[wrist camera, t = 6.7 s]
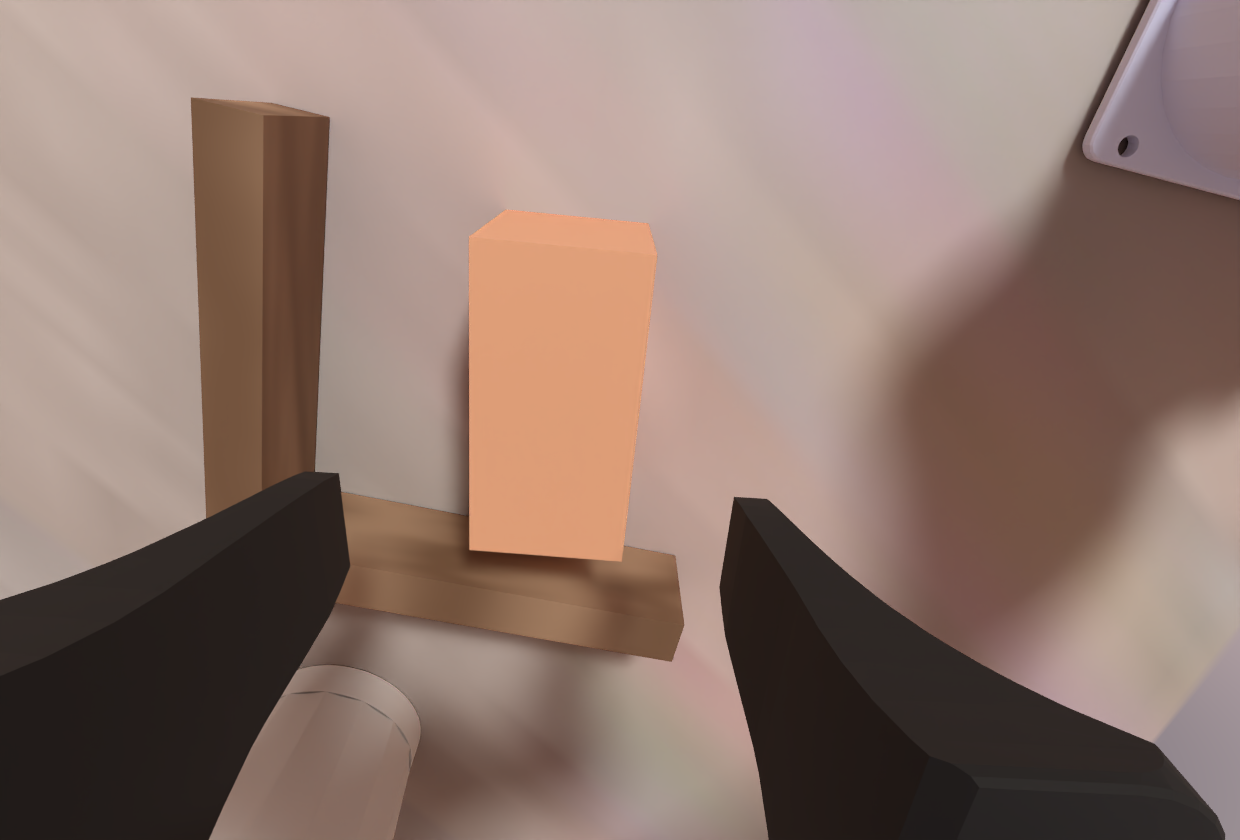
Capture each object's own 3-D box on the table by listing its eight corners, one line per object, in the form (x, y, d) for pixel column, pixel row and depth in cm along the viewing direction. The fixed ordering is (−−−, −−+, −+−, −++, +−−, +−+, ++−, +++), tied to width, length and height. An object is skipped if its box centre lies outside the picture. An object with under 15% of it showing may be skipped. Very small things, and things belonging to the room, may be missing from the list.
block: (621, 470, 22) (621, 561, 17) (501, 460, 22) (469, 549, 17) (647, 222, 18) (657, 254, 14) (506, 209, 18) (468, 236, 14)
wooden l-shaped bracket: (780, 226, 18) (814, 248, 15) (664, 589, 24) (671, 661, 20) (271, 102, 17) (191, 97, 14) (267, 515, 22) (208, 580, 19)
